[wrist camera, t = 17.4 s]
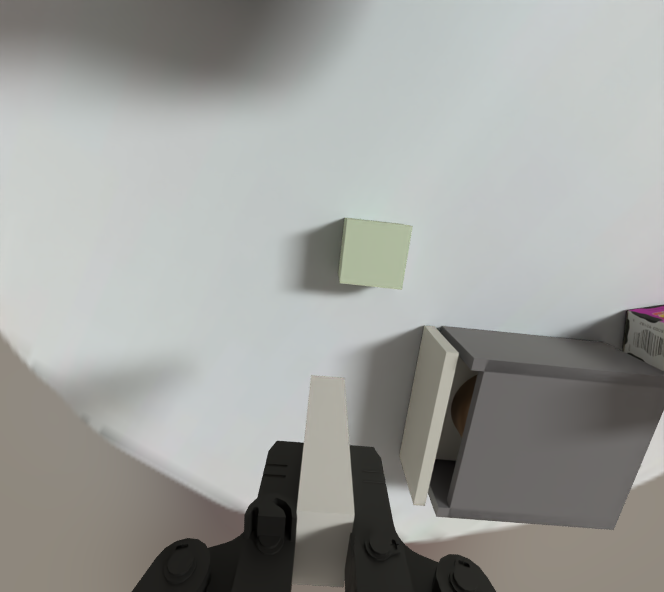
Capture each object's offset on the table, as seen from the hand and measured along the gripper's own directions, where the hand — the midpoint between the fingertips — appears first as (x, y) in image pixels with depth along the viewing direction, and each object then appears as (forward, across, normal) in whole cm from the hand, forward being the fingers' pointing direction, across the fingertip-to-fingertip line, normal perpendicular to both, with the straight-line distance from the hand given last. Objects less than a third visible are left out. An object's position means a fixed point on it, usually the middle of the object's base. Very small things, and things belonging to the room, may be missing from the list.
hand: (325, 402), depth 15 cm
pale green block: (+16, +3, +5) cm, 17 cm away
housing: (+16, +19, -10) cm, 27 cm away
